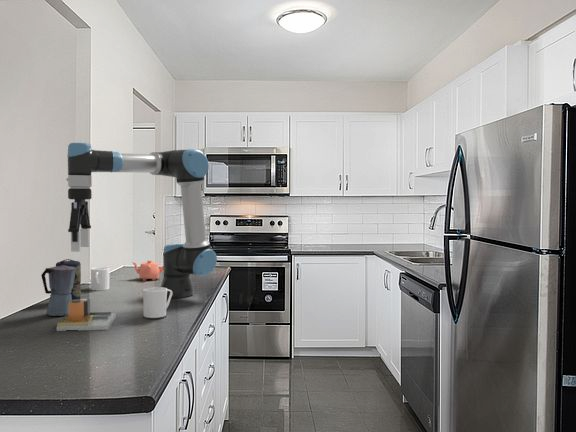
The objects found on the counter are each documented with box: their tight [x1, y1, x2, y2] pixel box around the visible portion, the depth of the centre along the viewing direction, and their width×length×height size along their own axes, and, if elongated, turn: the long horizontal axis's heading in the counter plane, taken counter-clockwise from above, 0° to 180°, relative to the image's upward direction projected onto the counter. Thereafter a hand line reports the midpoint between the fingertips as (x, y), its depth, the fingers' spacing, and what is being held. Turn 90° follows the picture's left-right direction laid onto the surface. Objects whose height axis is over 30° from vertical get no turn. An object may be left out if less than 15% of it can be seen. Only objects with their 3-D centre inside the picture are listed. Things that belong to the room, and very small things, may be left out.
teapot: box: [130, 260, 163, 282], centre depth 267 cm, size 14×12×10 cm
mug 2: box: [142, 286, 172, 320], centre depth 189 cm, size 11×9×10 cm
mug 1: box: [90, 266, 110, 292], centre depth 237 cm, size 8×12×10 cm, turn 7°
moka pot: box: [41, 260, 76, 317], centre depth 189 cm, size 10×15×20 cm, turn 161°
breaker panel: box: [56, 311, 117, 332], centre depth 177 cm, size 16×17×3 cm
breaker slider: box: [80, 298, 91, 315], centre depth 181 cm, size 4×4×6 cm
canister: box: [55, 258, 82, 300], centre depth 209 cm, size 10×10×18 cm
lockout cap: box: [69, 299, 84, 322], centre depth 173 cm, size 5×5×8 cm
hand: (80, 249), depth 177 cm, fingers open, 13 cm apart
